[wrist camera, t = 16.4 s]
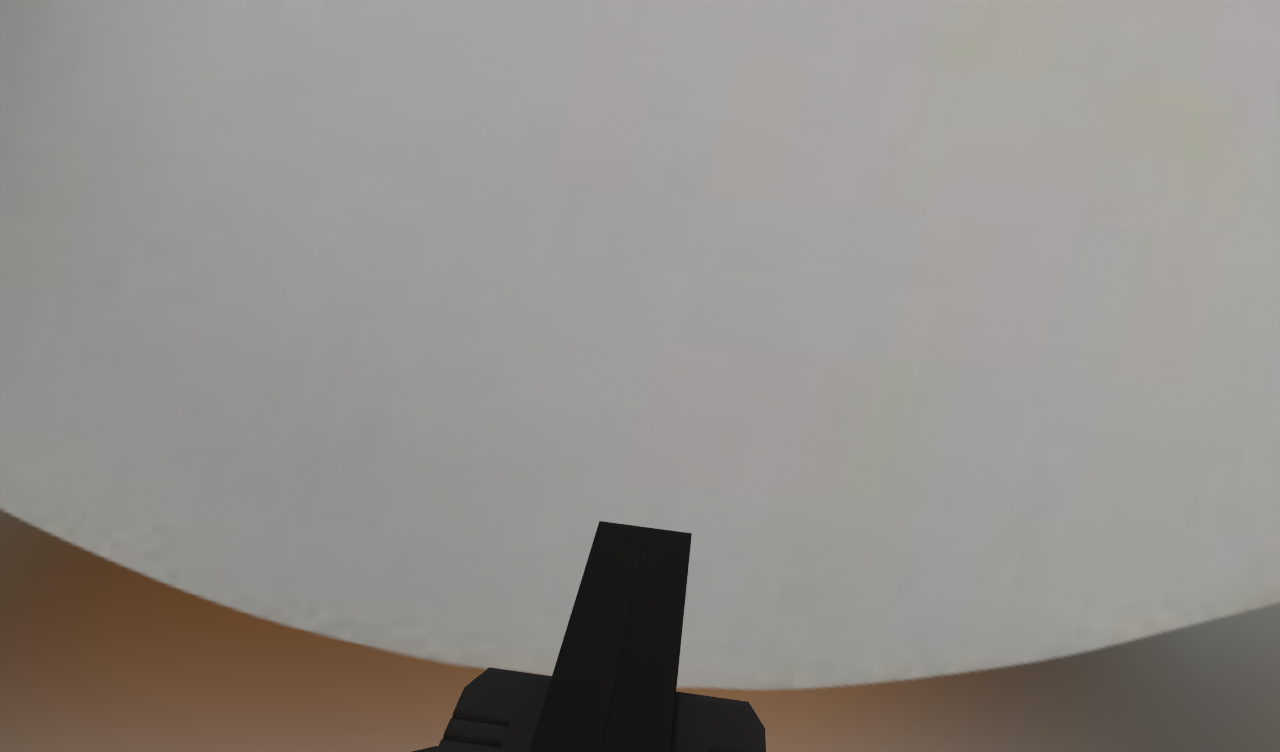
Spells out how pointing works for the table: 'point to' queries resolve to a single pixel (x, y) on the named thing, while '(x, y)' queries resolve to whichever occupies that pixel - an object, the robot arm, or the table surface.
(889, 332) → the table surface
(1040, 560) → the table surface
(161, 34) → the table surface
